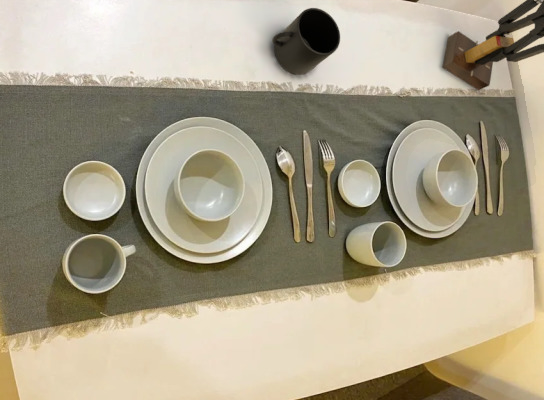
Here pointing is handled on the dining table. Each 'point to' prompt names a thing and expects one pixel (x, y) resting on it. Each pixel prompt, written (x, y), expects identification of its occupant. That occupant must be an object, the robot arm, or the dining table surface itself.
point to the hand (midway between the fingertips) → (477, 56)
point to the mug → (307, 41)
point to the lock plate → (458, 65)
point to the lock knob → (487, 48)
